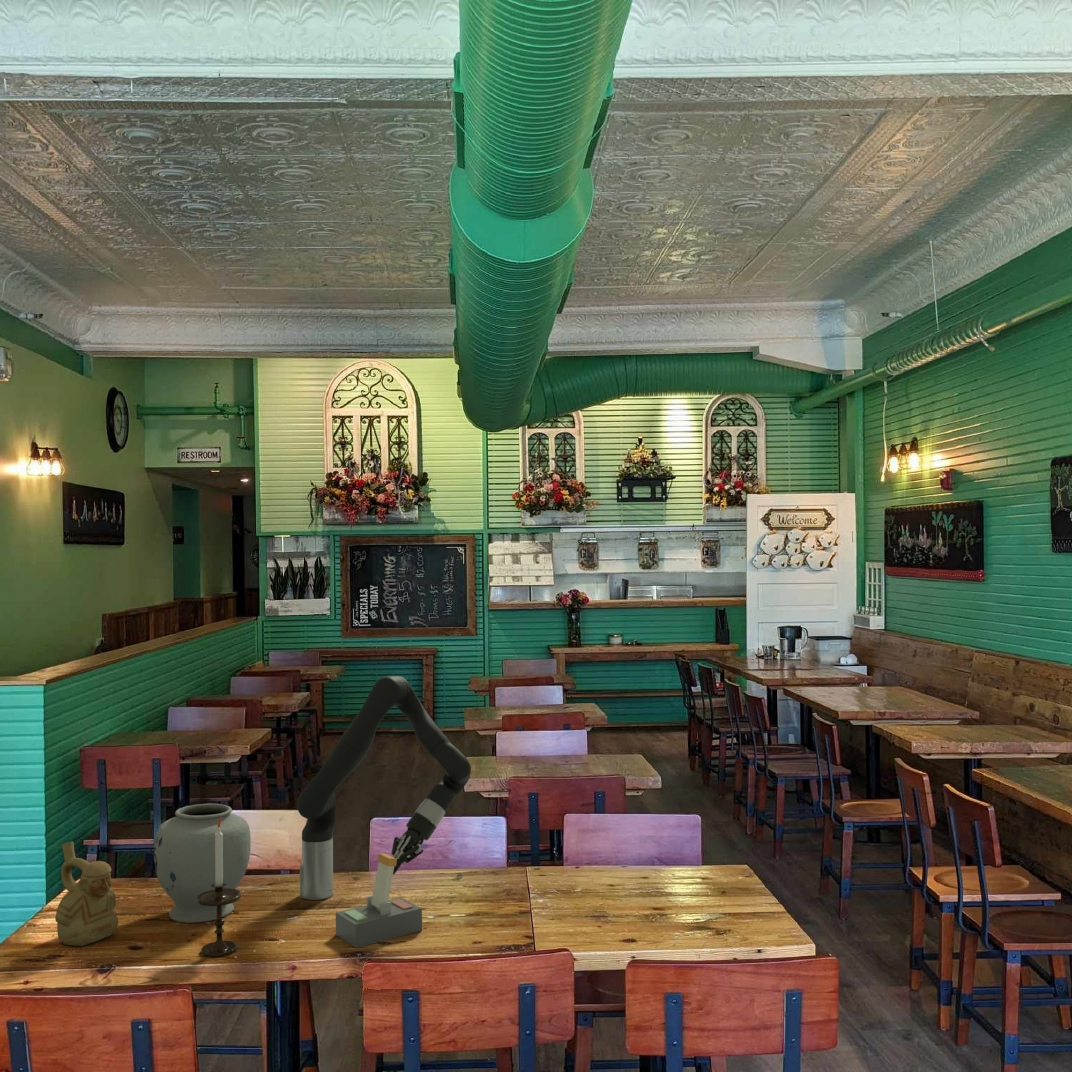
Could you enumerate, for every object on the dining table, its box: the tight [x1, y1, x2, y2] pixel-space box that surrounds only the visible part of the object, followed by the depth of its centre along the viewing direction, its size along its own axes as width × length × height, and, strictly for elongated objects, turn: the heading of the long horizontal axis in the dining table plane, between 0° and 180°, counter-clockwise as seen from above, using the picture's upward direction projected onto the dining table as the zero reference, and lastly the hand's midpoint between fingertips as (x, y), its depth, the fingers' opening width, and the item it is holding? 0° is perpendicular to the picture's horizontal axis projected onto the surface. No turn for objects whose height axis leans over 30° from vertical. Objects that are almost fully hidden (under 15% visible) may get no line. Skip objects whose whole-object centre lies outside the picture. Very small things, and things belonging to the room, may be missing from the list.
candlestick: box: [197, 817, 242, 958], centre depth 262 cm, size 11×11×35 cm
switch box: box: [335, 894, 423, 949], centre depth 273 cm, size 20×12×9 cm, turn 127°
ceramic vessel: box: [54, 841, 119, 947], centre depth 273 cm, size 17×20×25 cm
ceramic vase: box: [153, 803, 252, 924], centre depth 291 cm, size 27×27×30 cm
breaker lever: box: [371, 853, 397, 910], centre depth 274 cm, size 2×6×14 cm, turn 37°
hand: (389, 872), depth 276 cm, fingers closed
